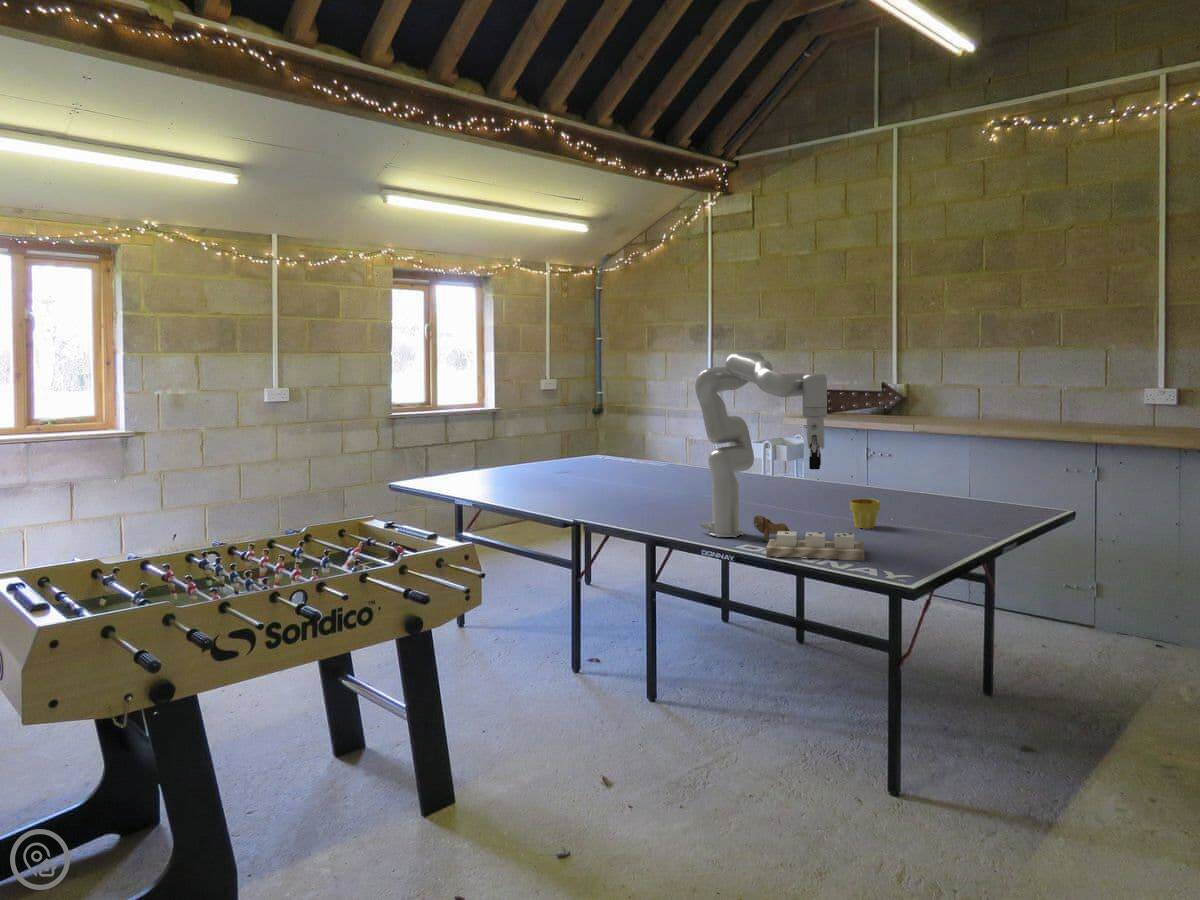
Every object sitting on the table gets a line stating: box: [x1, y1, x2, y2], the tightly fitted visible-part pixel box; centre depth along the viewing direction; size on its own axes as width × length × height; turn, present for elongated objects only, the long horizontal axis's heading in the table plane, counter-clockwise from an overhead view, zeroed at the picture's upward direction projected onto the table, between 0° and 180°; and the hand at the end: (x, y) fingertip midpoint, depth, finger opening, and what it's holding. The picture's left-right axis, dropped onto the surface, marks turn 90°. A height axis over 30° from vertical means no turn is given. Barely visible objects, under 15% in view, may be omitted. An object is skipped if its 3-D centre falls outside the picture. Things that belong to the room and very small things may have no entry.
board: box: [765, 538, 865, 562], centre depth 279 cm, size 30×13×3 cm, turn 74°
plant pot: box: [849, 498, 881, 530], centre depth 315 cm, size 10×10×10 cm
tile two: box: [804, 531, 826, 548], centre depth 278 cm, size 6×6×4 cm
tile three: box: [833, 532, 855, 549], centre depth 276 cm, size 6×6×4 cm
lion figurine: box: [752, 515, 790, 542], centre depth 297 cm, size 15×5×9 cm, turn 64°
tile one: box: [776, 530, 798, 547], centre depth 281 cm, size 6×6×4 cm
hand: (815, 467), depth 275 cm, fingers open, 8 cm apart
